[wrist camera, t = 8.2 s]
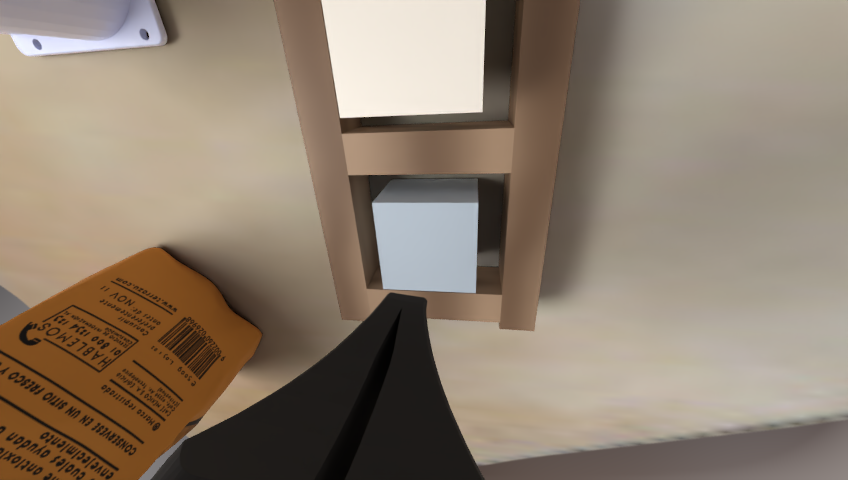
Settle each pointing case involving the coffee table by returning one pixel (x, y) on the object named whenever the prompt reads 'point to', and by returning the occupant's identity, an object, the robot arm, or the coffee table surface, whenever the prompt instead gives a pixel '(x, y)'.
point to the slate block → (428, 234)
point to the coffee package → (115, 370)
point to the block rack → (438, 163)
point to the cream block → (406, 56)
